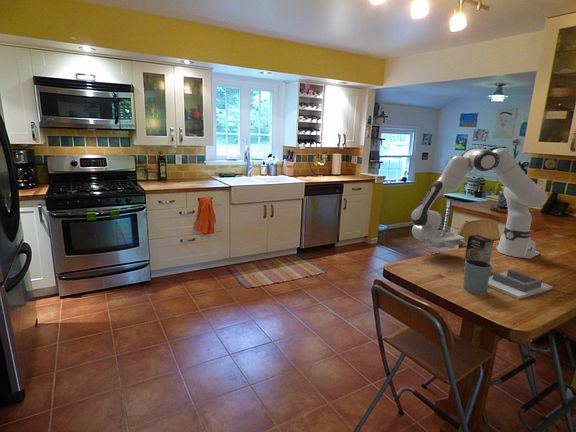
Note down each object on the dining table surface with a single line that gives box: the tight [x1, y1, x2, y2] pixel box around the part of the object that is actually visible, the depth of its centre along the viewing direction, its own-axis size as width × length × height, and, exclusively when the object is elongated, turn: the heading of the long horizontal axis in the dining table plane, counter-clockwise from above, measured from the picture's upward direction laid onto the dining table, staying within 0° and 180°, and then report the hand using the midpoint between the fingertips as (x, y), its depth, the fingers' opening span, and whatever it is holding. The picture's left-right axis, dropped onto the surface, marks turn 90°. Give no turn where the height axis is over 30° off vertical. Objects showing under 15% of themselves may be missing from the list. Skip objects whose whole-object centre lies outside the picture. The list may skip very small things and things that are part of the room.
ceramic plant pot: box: [462, 259, 493, 295], centre depth 143 cm, size 10×10×12 cm
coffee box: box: [463, 234, 495, 268], centre depth 165 cm, size 9×6×16 cm
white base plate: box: [487, 269, 553, 300], centre depth 150 cm, size 24×18×4 cm
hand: (460, 245), depth 174 cm, fingers open, 8 cm apart
